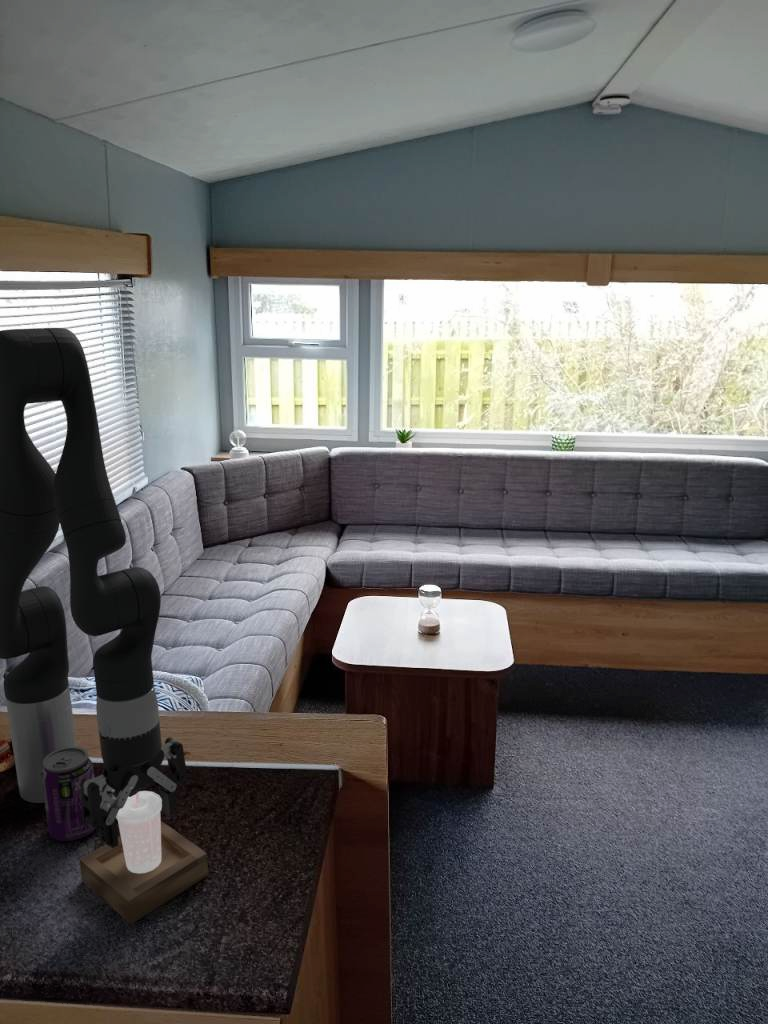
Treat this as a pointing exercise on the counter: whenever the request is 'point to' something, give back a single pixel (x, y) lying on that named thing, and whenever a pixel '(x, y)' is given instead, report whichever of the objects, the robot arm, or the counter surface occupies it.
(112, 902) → the base plinth
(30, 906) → the counter surface
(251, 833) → the counter surface
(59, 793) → the beverage can
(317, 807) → the counter surface
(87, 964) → the counter surface
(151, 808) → the beverage cup
